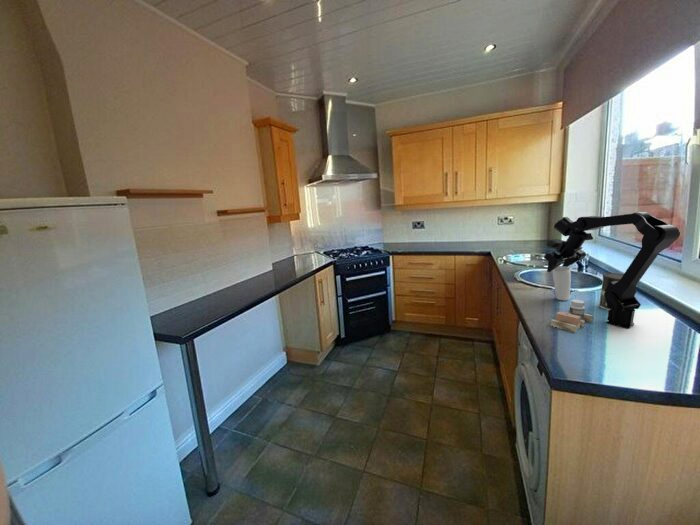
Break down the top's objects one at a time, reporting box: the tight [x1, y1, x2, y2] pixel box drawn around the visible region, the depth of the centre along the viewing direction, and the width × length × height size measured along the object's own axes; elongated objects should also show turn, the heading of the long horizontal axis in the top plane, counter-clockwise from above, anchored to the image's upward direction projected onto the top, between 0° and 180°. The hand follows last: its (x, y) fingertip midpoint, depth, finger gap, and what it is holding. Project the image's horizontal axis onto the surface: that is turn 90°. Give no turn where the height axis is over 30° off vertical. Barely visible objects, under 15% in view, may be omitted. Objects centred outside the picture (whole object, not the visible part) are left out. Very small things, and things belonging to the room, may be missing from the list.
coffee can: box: [598, 272, 624, 311], centre depth 129 cm, size 10×10×14 cm
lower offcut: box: [554, 318, 581, 331], centre depth 114 cm, size 7×3×2 cm, turn 34°
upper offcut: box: [555, 311, 581, 325], centre depth 114 cm, size 7×3×2 cm, turn 36°
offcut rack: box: [550, 311, 594, 334], centre depth 117 cm, size 8×16×2 cm, turn 124°
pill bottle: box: [568, 299, 586, 321], centre depth 118 cm, size 5×5×8 cm
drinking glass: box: [552, 265, 572, 301], centre depth 140 cm, size 7×7×15 cm
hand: (555, 269), depth 140 cm, fingers open, 9 cm apart
